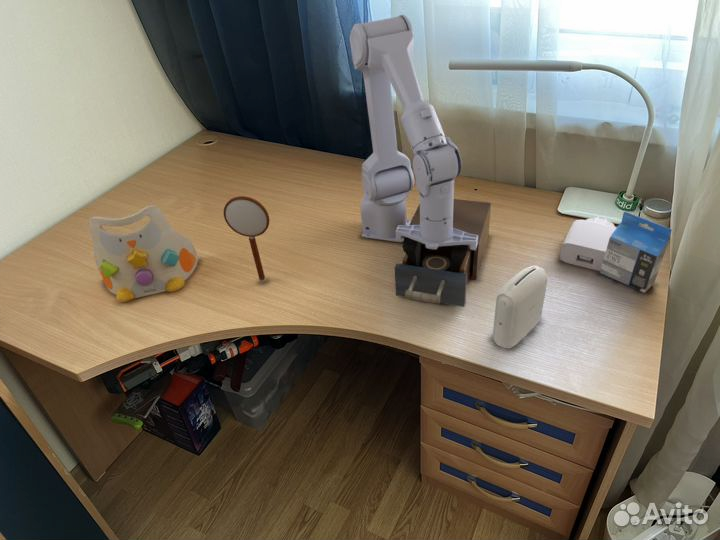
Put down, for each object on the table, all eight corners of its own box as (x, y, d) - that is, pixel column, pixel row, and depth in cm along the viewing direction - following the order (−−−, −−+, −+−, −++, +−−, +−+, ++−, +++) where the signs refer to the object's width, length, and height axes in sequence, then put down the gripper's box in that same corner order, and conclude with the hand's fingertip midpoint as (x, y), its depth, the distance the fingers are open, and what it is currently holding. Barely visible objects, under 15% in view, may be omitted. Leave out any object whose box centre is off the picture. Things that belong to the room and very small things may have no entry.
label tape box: (598, 273, 102) (612, 219, 95) (609, 263, 104) (624, 210, 97) (644, 294, 97) (662, 239, 89) (655, 283, 99) (674, 228, 91)
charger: (623, 232, 112) (608, 273, 102) (577, 221, 116) (558, 261, 107) (628, 212, 109) (613, 253, 100) (581, 203, 113) (562, 241, 104)
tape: (419, 286, 101) (418, 269, 98) (425, 269, 105) (425, 252, 102) (446, 290, 99) (447, 273, 97) (452, 273, 103) (453, 256, 101)
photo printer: (509, 353, 89) (517, 298, 81) (488, 340, 92) (493, 285, 84) (544, 320, 94) (554, 265, 86) (522, 309, 97) (530, 255, 89)
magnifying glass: (284, 280, 109) (265, 194, 96) (282, 285, 108) (262, 199, 95) (244, 278, 110) (220, 194, 98) (241, 283, 109) (217, 199, 97)
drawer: (458, 328, 93) (459, 299, 89) (387, 315, 97) (385, 286, 93) (477, 262, 107) (479, 234, 103) (414, 253, 111) (413, 225, 107)
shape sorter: (99, 310, 106) (61, 237, 95) (104, 278, 114) (69, 207, 103) (200, 287, 109) (174, 213, 98) (198, 257, 117) (174, 186, 106)
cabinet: (476, 280, 104) (478, 244, 99) (405, 269, 108) (404, 234, 103) (488, 237, 115) (491, 202, 109) (423, 229, 119) (423, 195, 113)
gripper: (389, 219, 92) (392, 280, 101) (474, 230, 88) (470, 292, 96) (400, 198, 97) (403, 257, 106) (481, 207, 93) (477, 268, 101)
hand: (435, 273), depth 101 cm, fingers open, 6 cm apart
